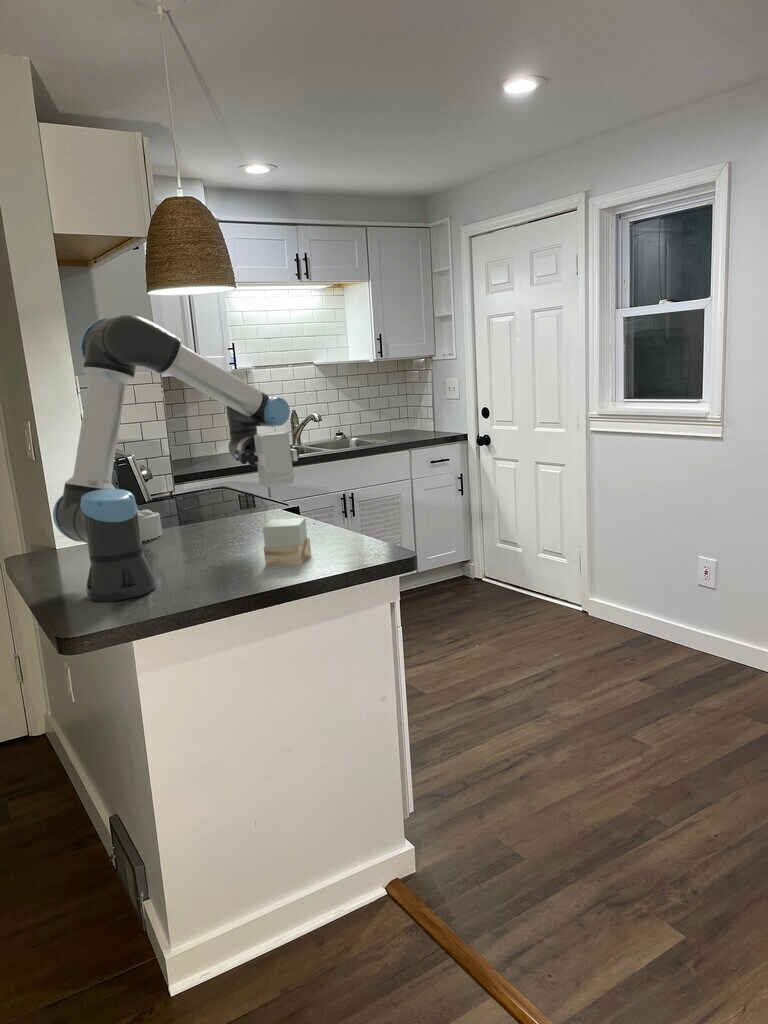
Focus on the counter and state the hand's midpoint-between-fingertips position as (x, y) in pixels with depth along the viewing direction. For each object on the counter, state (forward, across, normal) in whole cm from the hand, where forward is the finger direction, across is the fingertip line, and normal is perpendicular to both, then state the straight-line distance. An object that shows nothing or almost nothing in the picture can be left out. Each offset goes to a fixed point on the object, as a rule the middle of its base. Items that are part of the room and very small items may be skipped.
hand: (279, 457), depth 183 cm
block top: (-5, -1, -22) cm, 22 cm away
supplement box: (-5, 0, -7) cm, 9 cm away
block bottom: (-5, -1, -27) cm, 27 cm away
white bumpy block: (-64, +28, -27) cm, 75 cm away
